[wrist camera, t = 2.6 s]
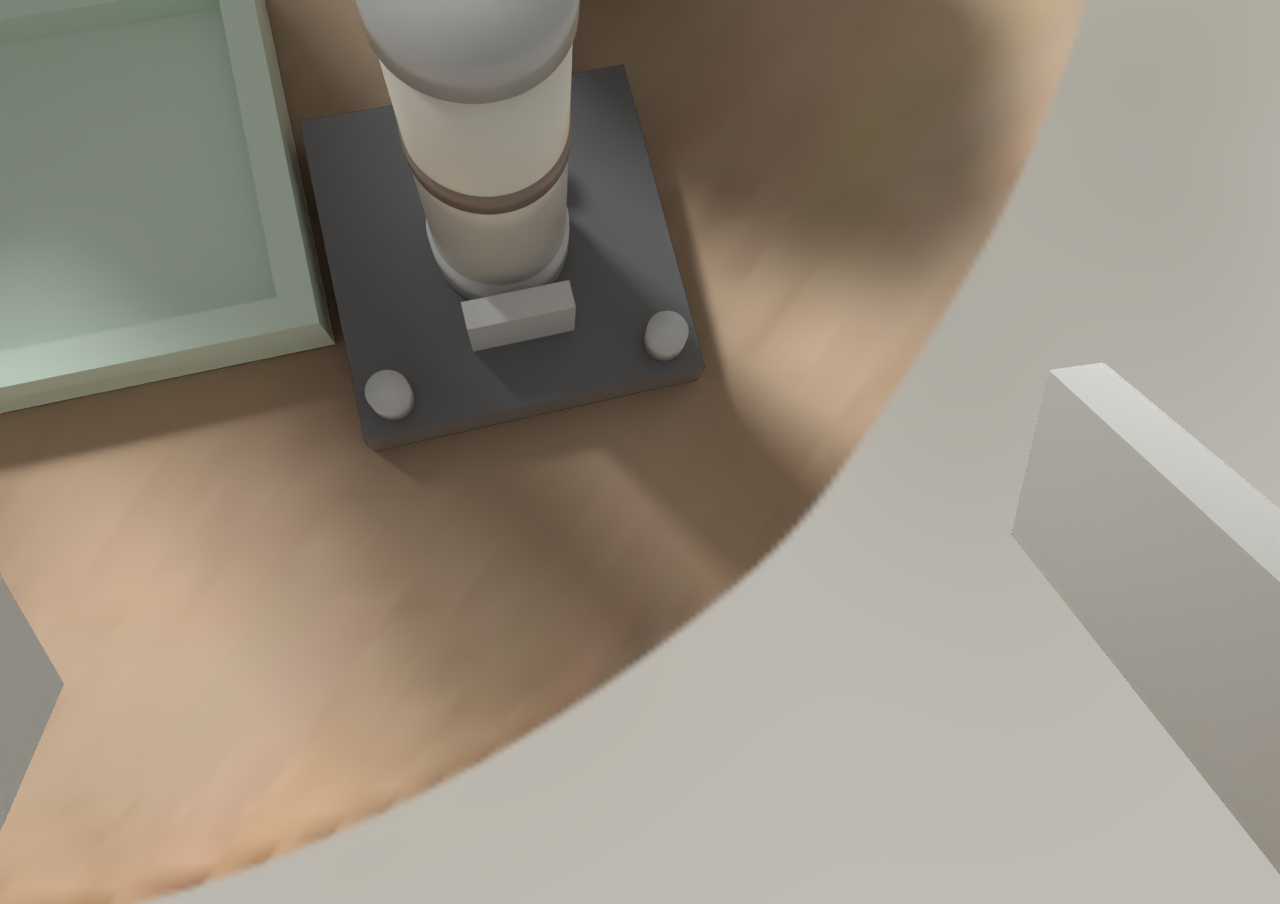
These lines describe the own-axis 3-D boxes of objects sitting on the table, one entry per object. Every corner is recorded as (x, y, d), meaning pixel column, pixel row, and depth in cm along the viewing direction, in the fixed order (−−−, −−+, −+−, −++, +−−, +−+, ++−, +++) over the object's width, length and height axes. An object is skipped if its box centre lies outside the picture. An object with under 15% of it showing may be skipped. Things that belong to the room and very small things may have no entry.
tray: (-88, 431, 27) (-139, 416, 25) (-135, 58, 29) (-185, 16, 27) (335, 344, 28) (319, 322, 27) (264, -5, 30) (244, -49, 28)
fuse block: (375, 450, 28) (350, 425, 25) (311, 146, 30) (280, 83, 26) (697, 379, 29) (716, 345, 26) (620, 91, 31) (628, 24, 27)
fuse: (447, 319, 27) (371, 83, 16) (419, 194, 28) (326, -123, 16) (582, 292, 28) (605, 44, 16) (551, 169, 29) (552, -155, 17)
